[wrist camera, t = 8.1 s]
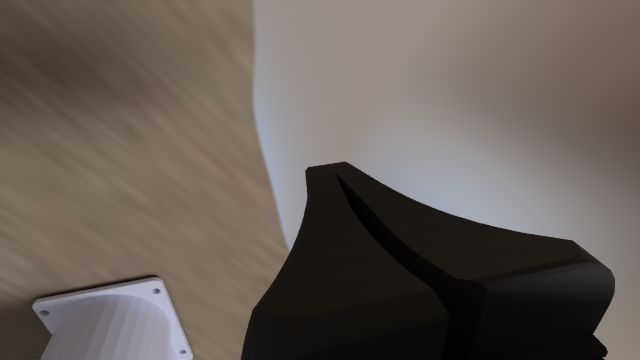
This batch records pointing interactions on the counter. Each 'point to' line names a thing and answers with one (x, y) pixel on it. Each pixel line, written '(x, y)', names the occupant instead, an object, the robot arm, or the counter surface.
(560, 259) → the robot arm
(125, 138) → the counter surface
